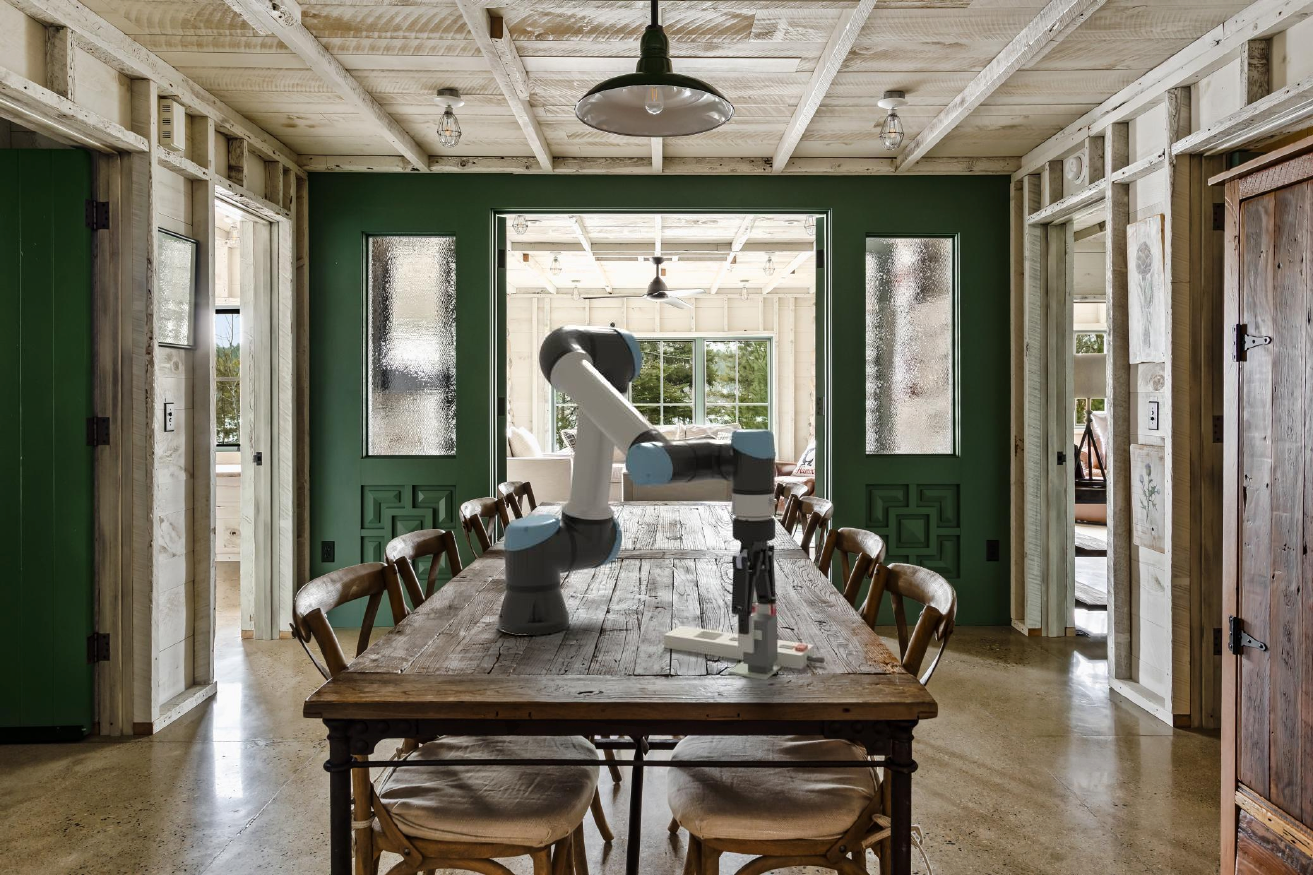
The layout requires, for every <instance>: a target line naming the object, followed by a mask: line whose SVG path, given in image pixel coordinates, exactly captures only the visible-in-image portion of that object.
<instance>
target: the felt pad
mask: <svg viewBox="0 0 1313 875" xmlns="http://www.w3.org/2000/svg"><path fill="white" fill-rule="evenodd" d="M781 668H782V666H779V665H773V669H772V670H771V671H770V672H768V673H767V674H760V673H754V672H748V664H743V661H741V662H740V663H738V664H737V665H736V666H734V667H732V668H731V669H730V670H729V671H728V674H730V675H736V676H742V677H745V678H746V677H747V678H753V679H759V680H764V681H765V680H767V679H769V678H770V677H771V676H772V675H775V673H777V672H778V671H779V670H780V669H781Z"/></svg>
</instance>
